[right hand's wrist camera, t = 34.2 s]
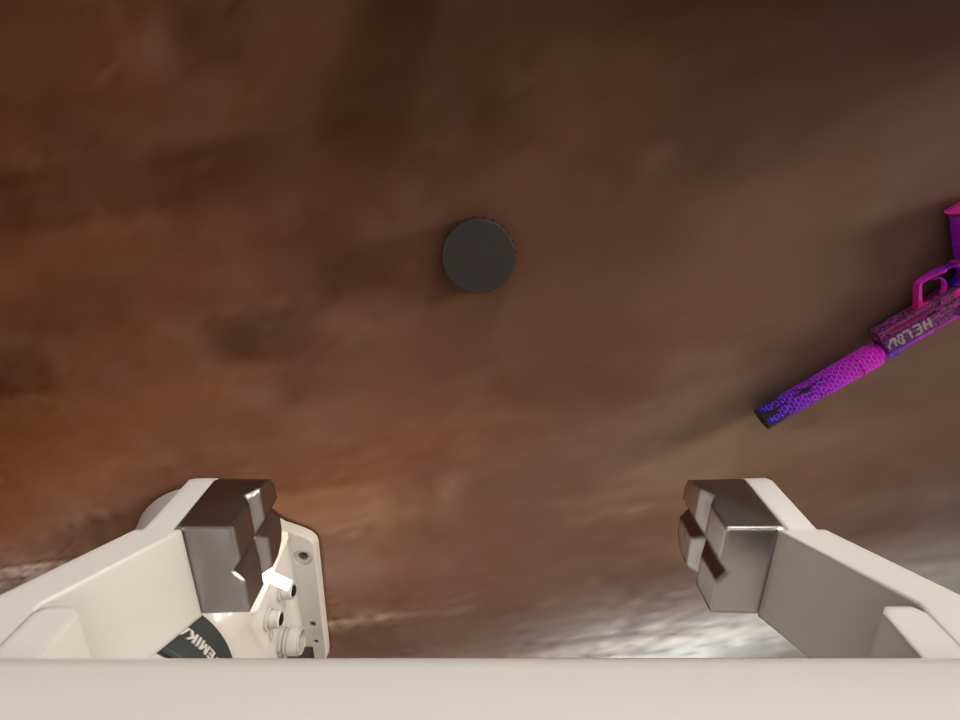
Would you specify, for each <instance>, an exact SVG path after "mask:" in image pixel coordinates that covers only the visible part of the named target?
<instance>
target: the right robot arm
mask: <svg viewBox="0 0 960 720" xmlns="http://www.w3.org/2000/svg"><path fill="white" fill-rule="evenodd" d="M276 499H277V495H276V490H275V485H274V483H273V482H272V481H271V480H270V479H227V478H220V479H218V478H195V479H191V480H188V481H187V483H186V484H185V485H184V486H183V487H182V488H181V489H178V490H175V491H172V492H170V493H167V494H165V495H163V496H161V497H160V498H158V499H157V500H155V501H154V502H153V503H152V504H150V505H149V506H148V507H147V509H146V510H145V511H144V512H143V514H142V516H141V517H140V519H139V522H138V524H137V526H136V528H135V530H133V531H131V532H129V533H127V534H125V535H123V536H121V537H119V538H117V539H115V540H113V541H111V542H109V543H106V544H104V545H102V546H100V547H98V548H96V549H94V550H92V551H90V552H88V553H86V554H84V555H82V556H80V557H77V558H75V559H73V560H71V561H69V562H67V563H65V564H63V565H61V566H59V567H57V568H55V569H53V570H51V571H49V572H46V573H44V574H42V575H40V576H38V577H36V578H34V579H32V580H30V581H28V582H26V583H24V584H22V585H20V586H17V587H15V588H13V589H11V590H9V591H7V592H5V593H3V594H1V595H0V720H960V595H959V594H957V593H955V592H953V591H950V590H948V589H946V588H944V587H942V586H940V585H938V584H936V583H934V582H932V581H930V580H928V579H926V578H924V577H922V576H919V575H917V574H915V573H913V572H911V571H909V570H907V569H905V568H903V567H901V566H899V565H897V564H895V563H893V562H891V561H889V560H886V559H884V558H882V557H880V556H878V555H876V554H874V553H872V552H870V551H868V550H866V549H864V548H862V547H860V546H858V545H856V544H853V543H851V542H849V541H847V540H845V539H843V538H841V537H839V536H837V535H835V534H833V533H831V532H829V531H827V530H817V529H816V528H815V527H814V526H813V525H812V524H811V523H810V522H809V521H808V520H807V519H806V517H805V516H804V515H803V514H802V513H801V512H800V511H799V510H798V509H797V508H796V507H795V505H794V504H793V503H792V502H791V501H790V500H789V499H788V498H787V497H786V496H785V494H784V493H783V492H782V491H781V490H780V489H779V488H778V487H777V486H776V485H775V484H774V482H773V481H771V480H769V479H767V478H747V479H721V480H688V482H687V484H686V486H685V489H684V495H683V499H684V501H685V503H686V504H687V506H688V510H687V511H686V512H685V513H684V514H683V515H682V516H681V517H680V520H679V528H678V537H679V547H680V550H681V553H682V557H683V559H684V561H685V563H686V565H687V567H689V568H690V569H692V570H693V571H695V572H696V573H697V574H698V576H697V582H696V585H697V587H698V589H699V591H700V593H701V594H702V596H703V598H704V600H705V602H706V604H707V606H708V608H709V610H710V612H726V613H759V614H758V616H759V617H760V618H762V619H763V620H764V621H765V622H766V623H768V624H769V625H770V626H771V627H773V628H774V629H775V630H776V631H777V632H779V633H780V634H781V635H782V636H783V637H785V638H786V639H787V640H788V641H789V642H791V643H792V644H793V645H794V646H796V647H797V648H798V649H799V650H800V651H802V652H803V653H804V654H805V655H806V656H808V657H809V658H326V657H327V655H328V653H329V649H330V645H329V634H328V625H327V615H326V606H325V596H324V587H323V577H322V568H321V558H320V548H319V540H318V537H317V535H316V534H315V533H314V532H313V531H311V530H309V529H307V528H305V527H302V526H299V525H297V524H294V523H290V522H287V521H285V520H283V519H281V518H280V517H279V516H278V515H277V514H276V513H275V512H274V511H273V510H272V506H273V504H274V503H275V501H276ZM302 552H305V553H307V554H303V553H302Z"/></svg>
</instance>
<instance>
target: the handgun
mask: <svg viewBox="0 0 960 720" xmlns="http://www.w3.org/2000/svg"><path fill="white" fill-rule="evenodd" d="M944 213H946V214H948V216H949V221H950V223H949V224H950V226H949V227H950V230H951V232H950V233H951V234H950V235H951V239H952V240H951V241H952V243H951V244H952V246H951V247H953V248H952V250H953V251H952V252H953V253H952V254H953V255H954V260H951V261H949V262H948V264H946V265H943V266H939V267H935V268H933V269H932V270H930V271H929V272H927V273H926V274H924V275H923V276H922V277H920V278H919V279H917V280H916V281H915V282H914V284H913V303H912V305H911V306H909V307H907V308H906V309H904V310H902V311H901V312H899V313H897V314H896V315H894V316H892V317H890V318H889V319H887V320H885V321H884V322H882V323H880V324H878V325H877V326H875V327H873V328H872V329H870V330H869V332H870V334H871V336H872V340H873V342H874V343H875V344H874V345H871V344H866V345H865V346H863V347H861V348H859V349H858V350H856V351H854V352H852V353H851V354H847V355H846V356H845V357H844V358H842V359H840V360H839V361H837V362H835V363H833V364H832V365H830V366H828V367H826V368H825V369H823V370H821V371H820V372H818V373H816V374H814V375H813V376H811V377H809V378H807V379H806V380H804V381H802V382H801V383H799V384H797V385H795V386H794V387H792V388H790V389H789V390H787V391H785V392H783V393H782V394H780V395H778V396H777V397H775V398H773V399H771V400H770V401H768V402H766V403H765V404H763V405H761V406H759V407H758V408H756V409H754V412H755V414H756V415H757V417H758V418H759V420H760V421H761V422H762V423H763V425H764V426H765V427H766V428H768V429H770V428H771V427H773V426H775V425H777V424H778V423H780V422H782V421H784V420H785V419H787V418H789V417H791V416H792V415H794V414H796V413H798V412H799V411H801V410H803V409H805V408H807V407H808V406H810V405H812V404H814V403H815V402H817V401H819V400H820V399H822V398H824V397H826V396H828V395H829V394H831V393H833V392H835V391H836V390H838V389H840V388H842V387H844V386H845V385H847V384H849V383H851V382H852V381H854V380H856V379H858V378H859V377H861V376H864V375H866V374H867V373H868V372H870V371H872V370H873V369H875V368H877V367H879V366H880V365H882V364H884V363H885V359H884V357H885V356H886V357H888V358H891V357H893V356H895V355H897V354H898V352H899V351H901V350H903V349H905V348H906V347H908V346H910V345H912V344H913V343H915V342H917V341H919V340H920V339H922V338H924V337H926V336H927V335H929V334H931V333H933V332H934V331H936V330H938V329H939V328H940V327H942V326H944V325H946V324H947V323H949V322H951V321H953V320H954V319H956V318H958V317H959V316H960V202H958V203H957V204H955V205H953V206H952V207H950V208H949V209H947V210H945V211H944ZM952 267H954V268H955V269H956V273H955V275H954V277H953V278H952V279H951V280H950V281H949V283H947V282H946V280H945V279H944V278H941V277H939V276H937V275H940V274H943V273H946V271H947V270H948V269H949V268H952ZM930 278H932V279H931V280H935V279H937V278H939V279H940V281H941V287H940V288H939V289H937V290H935V291H933V292H932V293H930V294H928V295H927V296H926V297H924V298H923V299H922V284H923V283H924V282H926V281H927V280H929V279H930Z"/></svg>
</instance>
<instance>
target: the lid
mask: <svg viewBox="0 0 960 720" xmlns="http://www.w3.org/2000/svg"><path fill="white" fill-rule="evenodd" d="M509 235H510V234H509V232H507V231H506V230H505V229H504V228H503V225H502V224H501V225H500V224H499V223H497V222H495V220H494V219H493V220H491V219H488V218H486V217H485V216H484V217H476V216H474V217H473V218H469V219H467V218H465V220H464V221H461V222H460V223H457V224H456V226H455V227H454V228H453V229H452V230H451V229H450V231H449V234H448V236H447V238H446V237H445V240H444V241H445V243H444V246H443V247H442V250H441V251H442V259H441V260H442V263H443V267H444V270H445V272H446V274H447V276H448V278H449V279H450V280H451V281H452V282H453V283H454V284H455V285H456V286H458V287H459V288H461V289H463V290H465V291H468V292H472V293H485V292H489V291H492V290H494V289H496V288H498V287H499V286H501V285H502V284H503V283H504V282H505V281H506V280H507V279H508V277H509V276H510V274H511V272H512V270H513V267H514V263H515V254H516V251H515V249H514V246H513V244H514V242H513V240H511V238H510V236H509Z"/></svg>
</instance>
